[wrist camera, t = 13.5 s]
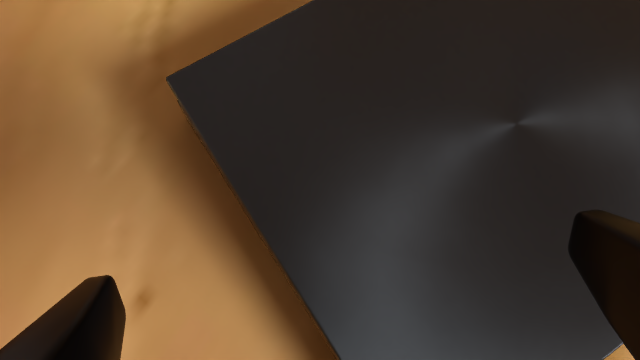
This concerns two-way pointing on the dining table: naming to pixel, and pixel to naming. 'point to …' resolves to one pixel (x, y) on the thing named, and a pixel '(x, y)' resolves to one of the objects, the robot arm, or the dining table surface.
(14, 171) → the dining table surface
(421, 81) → the laptop screen
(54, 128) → the dining table surface
